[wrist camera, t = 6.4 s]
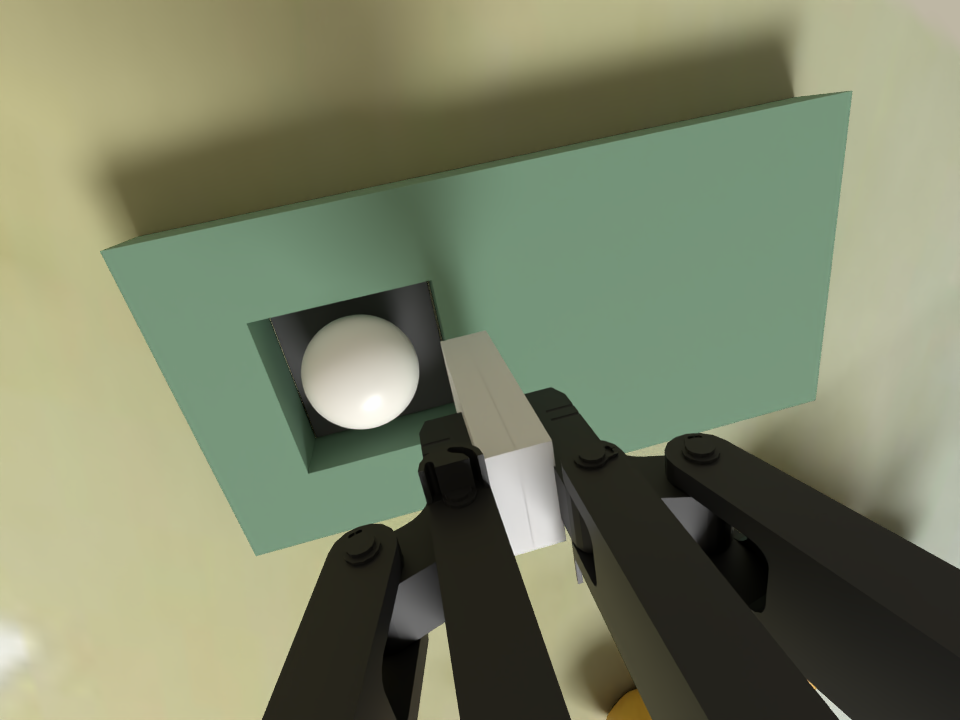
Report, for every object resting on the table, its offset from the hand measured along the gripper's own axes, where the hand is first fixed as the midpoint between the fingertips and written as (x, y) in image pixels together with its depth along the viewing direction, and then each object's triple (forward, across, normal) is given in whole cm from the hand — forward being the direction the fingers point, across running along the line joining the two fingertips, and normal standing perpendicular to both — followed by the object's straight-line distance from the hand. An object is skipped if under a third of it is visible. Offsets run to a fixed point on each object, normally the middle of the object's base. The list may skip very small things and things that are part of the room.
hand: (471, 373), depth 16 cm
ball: (+2, +4, 0) cm, 4 cm away
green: (+4, -2, 0) cm, 5 cm away
